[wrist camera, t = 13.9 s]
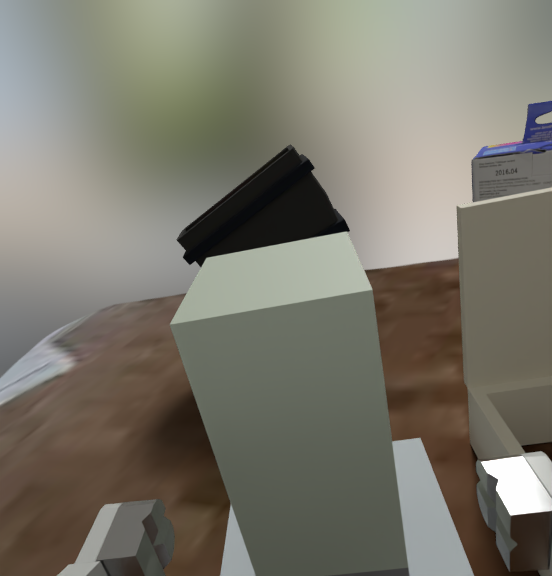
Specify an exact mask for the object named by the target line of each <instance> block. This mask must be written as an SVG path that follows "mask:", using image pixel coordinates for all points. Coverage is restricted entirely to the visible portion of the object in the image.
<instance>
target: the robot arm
mask: <svg viewBox="0 0 552 576" xmlns="http://www.w3.org/2000/svg"><path fill="white" fill-rule="evenodd" d="M476 472H477V474H478V476H479V478H480V481H479V482H478V484H477V497H478V501H479V506H480V509H481V512H482V514H483V517H484V519H485V521H486V524H487V526H488V527H489V528H491V529H492V530H493V531H495V532H496V545H497V547H498V549H499V551H500V553H501V555H502V557H503V559H504V561H505V563H506V566H507V568H508V570H509V572H519V571H534V570H549V569H550V571H549V572H551V573H552V462H551V460H550V459H549V458H548V456H547V455H546V454H545V453H543V452H542V451H540V452H532V453H524V454H519V455H518V454H515V455H508V456H500V457H493V458H486V459H478V460H477V462H476ZM165 509H166V508H165V506H164V504H163V502H162V500H159V499H156V500H145V501H135V502H124V503H117V504H107V505H105V506H104V507H103V508H101V510H100V511H99V513H98V516H97V518H96V520H95V522H94V524H93V526H92V528H91V530H90V532H89V534H88V536H87V539H86V541H85V543H84V545H83V547H82V549H81V551H80V553H79V555H78V557H77V560H76V562H75V564H69V565H68V566H67V567H66V568H65V569H64V570H63V571H62V572H61V573H60V574H58V575H57V576H166V575H165V573H164V571H163V569H164V568H165V567H166V566H167V565H168V563H169V562H170V561H171V559H172V555H173V551H174V538H175V536H174V530H173V526H172V523H171V521H170V520H169V519H167V518H166V517H164V512H165Z"/></svg>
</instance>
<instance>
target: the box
mask: <svg viewBox="0 0 552 576" xmlns="http://www.w3.org/2000/svg"><path fill="white" fill-rule="evenodd" d="M170 327H171V330H172V332H173V335H174V338H175V341H176V344H177V347H178V350H179V353H180V356H181V359H182V362H183V365H184V368H185V371H186V373H187V376H188V379H189V382H190V385H191V388H192V391H193V394H194V397H195V400H196V403H197V406H198V409H199V411H200V414H201V417H202V420H203V423H204V426H205V429H206V432H207V435H208V438H209V441H210V444H211V447H212V449H213V452H214V455H215V458H216V461H217V464H218V467H219V470H220V473H221V476H222V479H223V482H224V485H225V488H226V490H227V493H228V496H229V499H230V502H231V505H232V508H233V511H234V514H235V517H236V520H237V523H238V526H239V528H240V531H241V534H242V537H243V540H244V543H245V546H246V549H247V552H248V555H249V558H250V561H251V564H252V567H253V569H254V572H255V575H256V576H409V568H408V561H407V553H406V545H405V537H404V530H403V522H402V514H401V507H400V499H399V491H398V483H397V476H396V468H395V460H394V453H393V445H392V437H391V429H390V422H389V414H388V406H387V398H386V391H385V383H384V375H383V368H382V360H381V352H380V344H379V337H378V329H377V321H376V313H375V306H374V298H373V290H372V288H371V285H370V283H369V281H368V278H367V276H366V274H365V272H364V269H363V267H362V265H361V263H360V260H359V258H358V256H357V253H356V251H355V249H354V247H353V244H352V242H351V240H350V238H349V235H348V233H347V231H346V232H341V233H336V234H331V235H325V236H320V237H315V238H309V239H304V240H299V241H293V242H288V243H283V244H278V245H272V246H267V247H262V248H256V249H251V250H246V251H240V252H235V253H230V254H225V255H219V256H214V257H209V258H206V260H205V262H204V263H203V265H202V267H201V269H200V271H199V272H198V274H197V276H196V278H195V280H194V282H193V283H192V285H191V287H190V289H189V291H188V292H187V294H186V296H185V298H184V300H183V302H182V303H181V305H180V307H179V309H178V311H177V312H176V314H175V316H174V318H173V320H172V322H171V323H170Z"/></svg>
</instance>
